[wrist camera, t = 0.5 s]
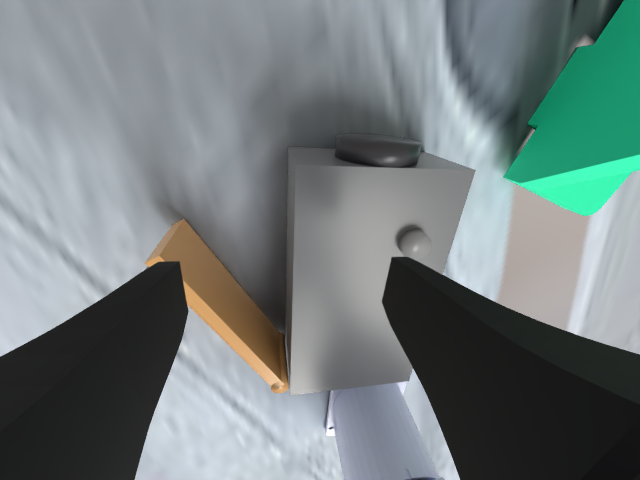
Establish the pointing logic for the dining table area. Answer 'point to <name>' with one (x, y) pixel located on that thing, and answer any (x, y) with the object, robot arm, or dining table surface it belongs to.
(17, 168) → the dining table surface
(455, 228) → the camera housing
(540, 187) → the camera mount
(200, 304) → the tan piece
